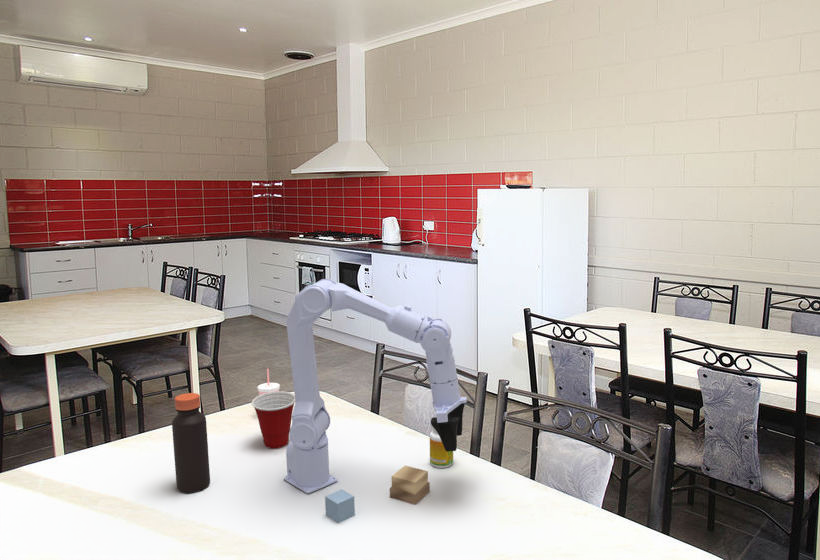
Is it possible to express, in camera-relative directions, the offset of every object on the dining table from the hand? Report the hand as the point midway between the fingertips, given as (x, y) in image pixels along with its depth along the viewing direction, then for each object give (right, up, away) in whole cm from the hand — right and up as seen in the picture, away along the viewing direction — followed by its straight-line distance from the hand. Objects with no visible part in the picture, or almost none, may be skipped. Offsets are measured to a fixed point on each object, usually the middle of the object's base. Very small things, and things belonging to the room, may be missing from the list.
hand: (454, 442), depth 121 cm
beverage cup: (-49, -5, +45) cm, 67 cm away
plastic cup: (-43, -8, +26) cm, 51 cm away
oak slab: (-9, -9, 0) cm, 13 cm away
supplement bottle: (-2, -9, +14) cm, 17 cm away
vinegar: (-56, -11, +5) cm, 57 cm away
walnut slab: (-9, -11, 0) cm, 14 cm away
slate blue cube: (-23, -12, -7) cm, 27 cm away
